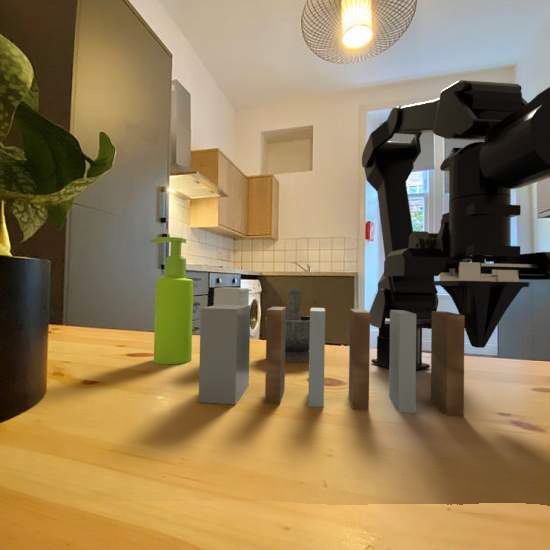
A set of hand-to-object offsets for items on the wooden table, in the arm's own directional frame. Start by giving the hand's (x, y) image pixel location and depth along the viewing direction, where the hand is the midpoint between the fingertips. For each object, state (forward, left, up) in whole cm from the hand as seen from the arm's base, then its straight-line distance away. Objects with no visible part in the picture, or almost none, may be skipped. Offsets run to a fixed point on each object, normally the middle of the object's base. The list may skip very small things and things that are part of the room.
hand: (477, 347), depth 37 cm
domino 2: (+14, -9, -6) cm, 18 cm away
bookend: (+23, -15, -6) cm, 28 cm away
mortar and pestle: (+6, -29, -7) cm, 31 cm away
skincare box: (+17, -30, -7) cm, 36 cm away
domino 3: (+10, -7, -6) cm, 14 cm away
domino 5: (+3, -2, -6) cm, 7 cm away
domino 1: (+18, -12, -6) cm, 22 cm away
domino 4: (+7, -4, -6) cm, 10 cm away
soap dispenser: (+26, -34, -7) cm, 44 cm away
